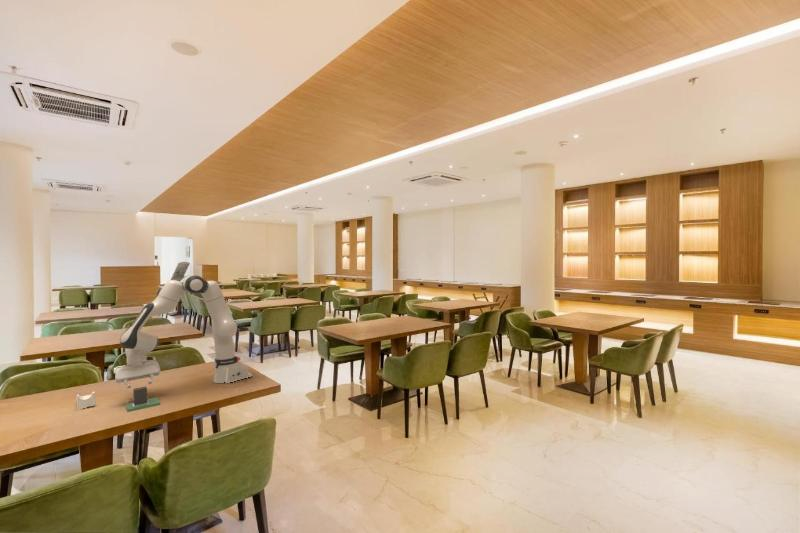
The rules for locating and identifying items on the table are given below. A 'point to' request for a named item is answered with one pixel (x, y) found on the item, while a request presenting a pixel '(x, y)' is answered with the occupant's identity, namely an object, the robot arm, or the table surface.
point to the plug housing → (140, 395)
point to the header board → (149, 403)
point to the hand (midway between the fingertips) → (139, 385)
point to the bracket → (85, 401)
